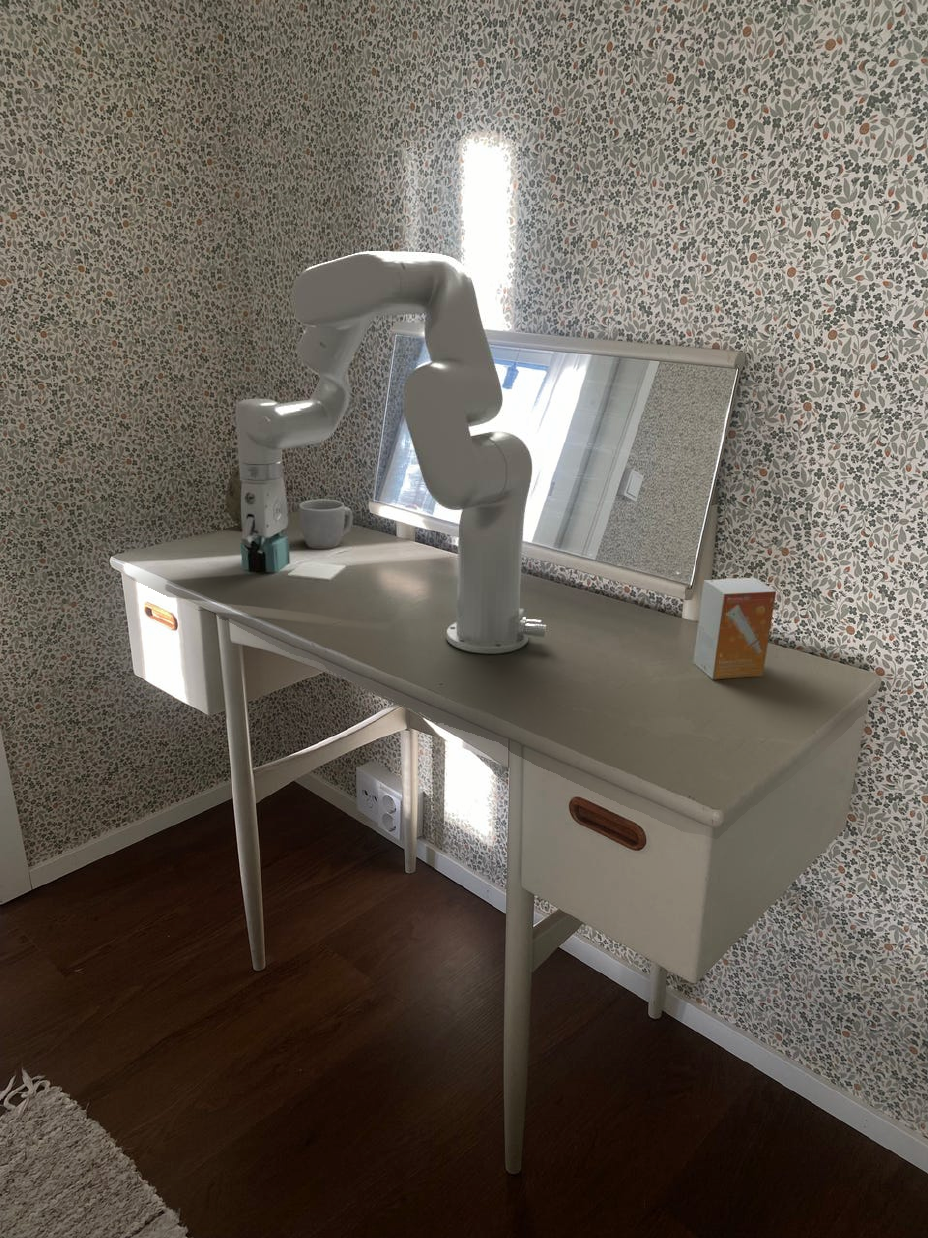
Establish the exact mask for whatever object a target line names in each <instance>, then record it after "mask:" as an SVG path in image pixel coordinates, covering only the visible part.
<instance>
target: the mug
mask: <svg viewBox="0 0 928 1238" xmlns="http://www.w3.org/2000/svg"><path fill="white" fill-rule="evenodd" d="M298 511H299V513H298V514H299V523H300V528H301V533H302V537H303V539H304V541H305V544H306V546H307V547H309V548H311V549H315V550H317V549H318V550H329V549H335V548H337V547H338V546H339V545H340V543H341V540H342V539H343V538H344V537H346V536H348V535H349V533H350V531H351V529H352V525H353V522H354V517H353V511H352V509H351V508H350V507H348V506H345V503H344V502H342V501H340V500H335V499H322V498H321V499H318V498H317V499H309V500H305V501H302V502H301V503H299V507H298Z"/></svg>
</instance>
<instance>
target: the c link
mask: <svg viewBox="0 0 928 1238" xmlns="http://www.w3.org/2000/svg"><path fill="white" fill-rule="evenodd" d="M255 535H259V533H256V534H255ZM253 541H255V542H256V543H257V544H258V543H259V539H253ZM240 552H241V567H242V568H241V569H242V570H243V571H249V565H248V553H247V552H246V547H245V544H244V543H243V541H242V542H240ZM263 552H264V553H265V555H266V573H269V574H270V573H272V574H273V573H274V574H276V573H277V572H279V571H280V570H281V569H283V568H285V567H286V566H287V565H289V564H290V562H291V558H290V557H291V555H290V537H289V536H284V535H283V536H272V537H270V538H265V541H264V548H263Z"/></svg>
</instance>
